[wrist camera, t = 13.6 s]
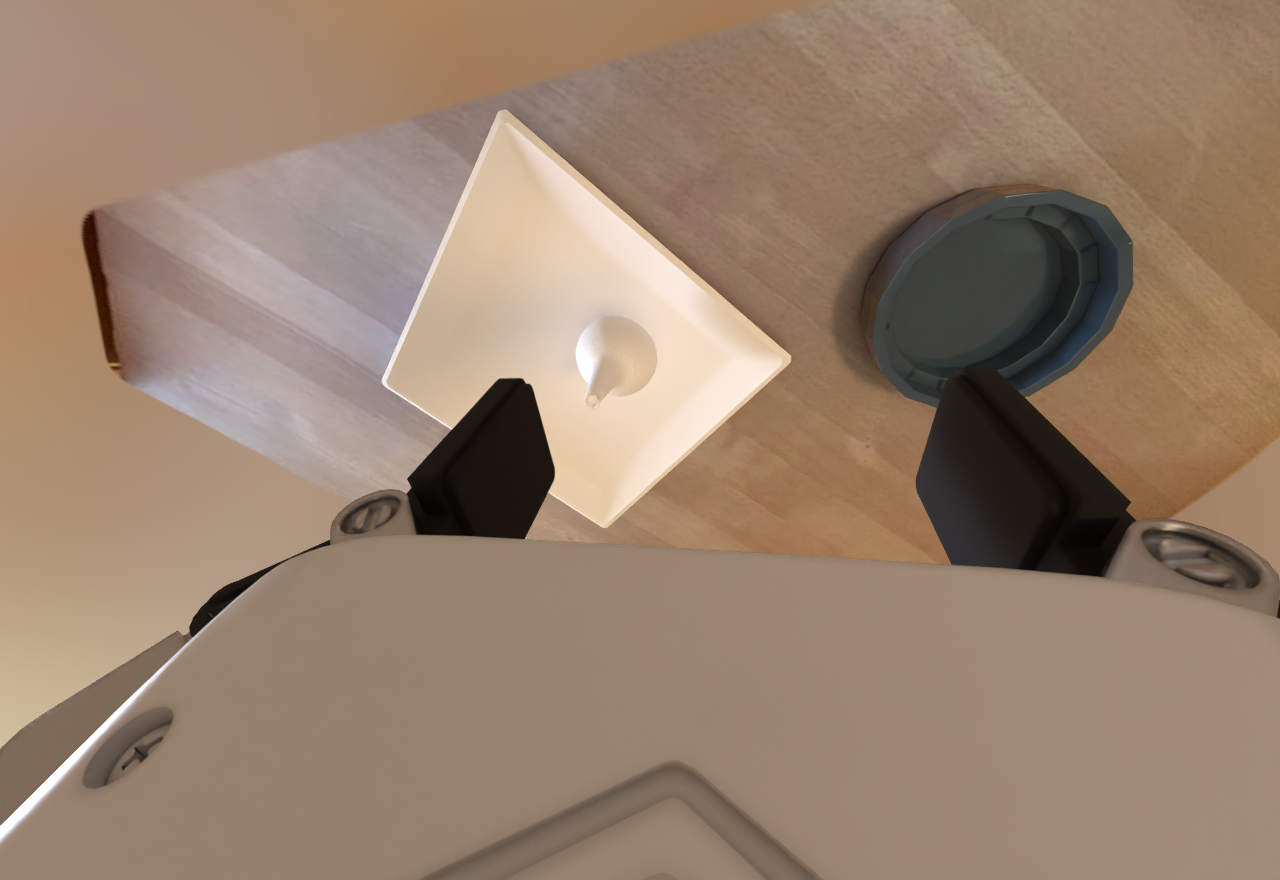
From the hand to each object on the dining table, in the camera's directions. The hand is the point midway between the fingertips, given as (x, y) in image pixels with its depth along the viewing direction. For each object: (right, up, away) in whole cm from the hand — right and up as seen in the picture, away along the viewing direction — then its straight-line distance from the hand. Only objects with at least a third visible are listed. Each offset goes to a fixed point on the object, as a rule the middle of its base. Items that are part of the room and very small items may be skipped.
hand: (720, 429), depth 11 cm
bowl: (+21, +10, +21) cm, 31 cm away
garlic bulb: (-3, +7, +26) cm, 27 cm away
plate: (-8, +7, +29) cm, 31 cm away
